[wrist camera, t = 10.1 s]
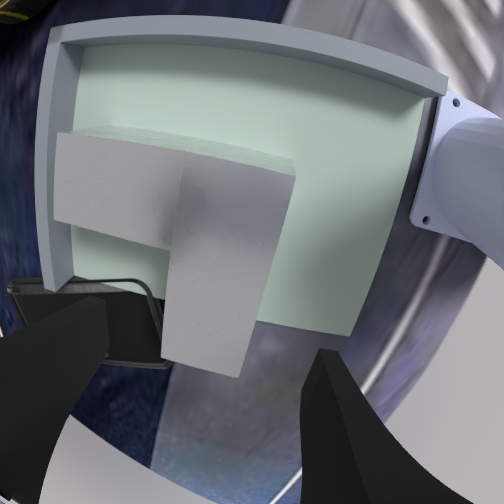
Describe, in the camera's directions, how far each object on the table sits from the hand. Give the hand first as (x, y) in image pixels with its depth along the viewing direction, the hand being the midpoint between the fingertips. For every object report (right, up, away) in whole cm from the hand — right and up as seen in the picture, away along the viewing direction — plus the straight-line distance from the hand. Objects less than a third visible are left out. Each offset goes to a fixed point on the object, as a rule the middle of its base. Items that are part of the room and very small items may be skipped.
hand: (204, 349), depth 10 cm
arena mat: (-1, +7, +7) cm, 10 cm away
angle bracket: (-2, +4, +8) cm, 9 cm away
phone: (-12, -2, +13) cm, 17 cm away
